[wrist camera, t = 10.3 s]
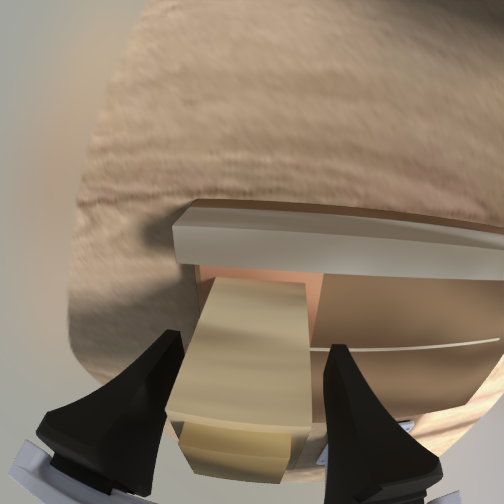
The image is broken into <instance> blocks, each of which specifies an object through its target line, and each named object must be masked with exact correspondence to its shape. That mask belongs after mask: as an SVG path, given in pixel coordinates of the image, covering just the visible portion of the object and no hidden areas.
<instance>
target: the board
mask: <svg viewBox="0 0 504 504" xmlns="http://www.w3.org/2000/svg"><path fill="white" fill-rule="evenodd" d="M172 230H173V239H174V248H175V256H176V263H181V264H194V267H195V277H196V286H197V295H198V304H199V312H200V316H201V313H202V311H203V308H204V306H205V303H206V301H207V298H208V296H209V293H210V291H211V288H212V286H213V283H214V281H215V278H216V277H225V278H238V279H252V280H267V281H282V282H298V283H305V286H306V298H307V312H308V327H309V344H310V364H311V390H312V423H326V415H325V406H324V397H323V372H324V369H325V365H326V362H327V359H328V355H329V352H330V348H331V345H332V344H346V345H347V347H348V349H349V351H350V353H351V355H352V357H353V359H354V361H355V362H356V364H357V366H358V368H359V370H360V371H361V373H362V375H363V376H364V378H365V380H366V381H367V383H368V384H369V386H370V388H371V389H372V391H373V392H374V394H375V395H376V396H377V398H378V399H379V401H380V402H381V403H382V405H383V406H384V407H385V409H386V410H387V411H388V412H389V413H390V415H391V416H392V417H393V418H398V417H406V416H412V415H419V414H425V413H430V412H436V411H441V410H445V409H450V408H454V407H459V406H463V405H465V404H466V403H467V402H468V401H469V400H470V399H471V397H472V396H473V395H474V394H475V392H476V391H477V390H478V389H479V387H480V386H481V385H482V384H483V382H484V381H485V380H486V378H487V377H488V376H489V374H490V373H491V371H492V370H493V369H494V367H495V366H496V364H497V363H498V361H499V360H500V358H501V357H502V355H503V354H504V228H502V227H496V226H491V225H485V224H479V223H473V222H467V221H460V220H454V219H447V218H440V217H433V216H426V215H418V214H410V213H402V212H393V211H385V210H375V209H365V208H355V207H344V206H333V205H320V204H306V203H291V202H274V201H254V200H229V199H197V200H196V201H195V202H194V203H193V204H192V205H191V206H190V207H189V208H188V209H187V210H186V211H185V212H184V213H183V214H182V216H181V217H180V218H179V219H178V220H177V221H176V222H175V223H174V224H173V225H172Z"/></svg>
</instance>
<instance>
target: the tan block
mask: <svg viewBox="0 0 504 504" xmlns="http://www.w3.org/2000/svg"><path fill="white" fill-rule="evenodd" d="M165 411H166V413H167V416H168V418H169V420H170V422H171V424H172V426H173V428H174V431H175V433H176V435H177V437H178V439H179V442H178V445H179V447H180V449H181V451H182V452H183V454H184V456H185V458H186V460H187V461H188V463H189V465H190V466H191V468H192V470H193V472H194V473H195V474H199V475H205V476H211V477H216V478H223V479H230V480H238V481H246V482H257V483H271V484H280V482H281V479H282V477H283V474H284V472H285V470H286V469H289V470H293V469H294V466H295V464H296V462H297V460H298V458H299V456H300V454H301V451H302V449H303V447H304V445H305V443H306V440H307V438H308V436H309V433H310V431H311V429H312V390H311V364H310V344H309V327H308V312H307V298H306V286H305V283H298V282H282V281H267V280H252V279H238V278H225V277H216V278H215V281H214V283H213V286H212V288H211V291H210V293H209V296H208V298H207V301H206V303H205V306H204V308H203V311H202V313H201V316H200V318H199V321H198V324H197V326H196V329H195V331H194V334H193V336H192V339H191V341H190V344H189V347H188V349H187V352H186V354H185V357H184V360H183V362H182V365H181V368H180V370H179V373H178V376H177V378H176V381H175V383H174V386H173V389H172V392H171V394H170V397H169V400H168V402H167V405H166V408H165Z"/></svg>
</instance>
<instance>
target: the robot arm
mask: <svg viewBox="0 0 504 504" xmlns="http://www.w3.org/2000/svg"><path fill="white" fill-rule="evenodd" d="M184 357H185V353H184V349H183V344H182V339H181V334H180V331H174V330H166V331H165V332H164V333H163V334H162V335H161V336H160V337H159V338H158V339H157V340H156V341H155V342H154V343H153V344H152V345H151V346H150V347H149V348H148V349H147V350H146V351H145V352H144V353H143V354H142V355H141V356H140V357H139V358H138V359H136V360H135V361H134V362H133V363H132V364H131V365H130V366H129V367H127V368H126V369H125V370H124V371H123V372H121V373H120V374H119V375H118V376H116V377H115V378H114V379H112V380H111V381H110V382H108V383H107V384H105V385H104V386H102V387H101V388H99V389H98V390H96V391H94V392H92V393H91V394H89V395H87V396H86V397H84V398H81V399H79V400H77V401H75V402H73V403H71V404H68V405H66V406H64V407H61V408H58V409H55V410H52V411H50V412H47V413H46V415H45V416H44V418H43V420H42V422H41V423H40V425H39V427H38V429H37V430H36V435H37V436H38V438H39V439H41V440H42V441H43V442H44V443H45V444H46V445H47V446H48V447H50V448H51V449H52V450H53V451H54V452H55V453H54V456H53V458H52V457H51V456H50V455H49V454H48V453H46V452H45V451H44V450H42V449H41V448H39V447H38V446H36V445H35V444H33V443H31V442H30V441H28V440H25V441H24V443H23V445H22V447H21V449H20V451H19V452H18V454H17V457H16V458H15V461H14V463H13V465H12V466H11V468H10V471H9V473H8V476H10V477H11V478H12V479H13V480H14V481H15V482H17V483H18V484H19V485H20V486H22V487H23V488H24V489H25V490H27V491H28V492H29V493H31V494H32V495H33V496H35V497H36V498H37V499H38V500H40V501H41V502H42V503H44V504H157V503H153V502H150V501H147V500H144V499H141V498H138V497H135V496H132V495H129V494H127V492H128V493H130V494H133V495H134V494H136V495H139V496H142V497H147V496H149V495H150V494H151V489H152V482H153V474H154V468H155V463H156V458H157V453H158V448H159V444H160V440H161V436H162V432H163V428H164V425H165V422H166V419H167V413H166V411H165V408H166V405H167V402H168V400H169V397H170V394H171V392H172V389H173V386H174V383H175V381H176V378H177V376H178V373H179V370H180V368H181V365H182V362H183V360H184ZM323 397H324V406H325V415H326V424H327V433H328V443H327V445H326V447H325V448H324V450H323V452H322V453H321V455H320V457H319V458H318V460H317V461H316V464H317V465H325V499H324V504H424V497H426V496H427V492H426V489H427V488H429V487H431V486H432V485H434V484H436V483H437V482H439V481H440V480H441V479H442V477H443V472H442V467H441V463H440V460H439V457H437V456H436V455H434V454H433V453H432V452H430V451H429V450H427V449H426V448H425V447H423V446H422V445H421V444H420V443H418V442H417V441H416V440H415V439H414V438H413V437H412V436H411V435H409V434H408V432H409V431H410V430H411V429H412V427H413V426H414V422H413V421H409V422H403V423H397V421H396V420H395V419H394V418H393V417H392V416H391V415H390V413H389V412H388V411H387V410H386V409H385V407H384V406H383V405H382V403H381V402H380V401H379V399H378V398H377V396H376V395H375V394H374V392H373V391H372V389H371V388H370V386H369V384H368V383H367V381H366V380H365V378H364V376H363V375H362V373H361V371H360V370H359V368H358V366H357V364H356V362H355V361H354V359H353V357H352V355H351V353H350V351H349V349H348V347H347V345H346V344H332V345H331V348H330V352H329V355H328V359H327V362H326V365H325V369H324V372H323ZM427 504H462V500H461V493H460V491H459V490H458V491H455V492H453V493H450V494H447V495H445V496H442V497H439V498H436V499H434V500H432V501H430V502H428V503H427Z"/></svg>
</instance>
